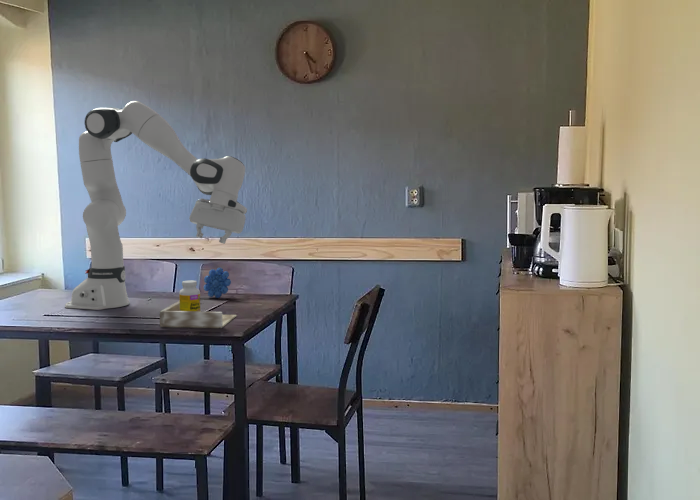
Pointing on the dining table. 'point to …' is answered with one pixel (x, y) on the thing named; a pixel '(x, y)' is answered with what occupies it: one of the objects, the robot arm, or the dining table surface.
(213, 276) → the blue flower shape
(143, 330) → the dining table surface
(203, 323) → the tray
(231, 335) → the dining table surface
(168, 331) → the dining table surface
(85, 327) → the dining table surface
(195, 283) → the supplement bottle
